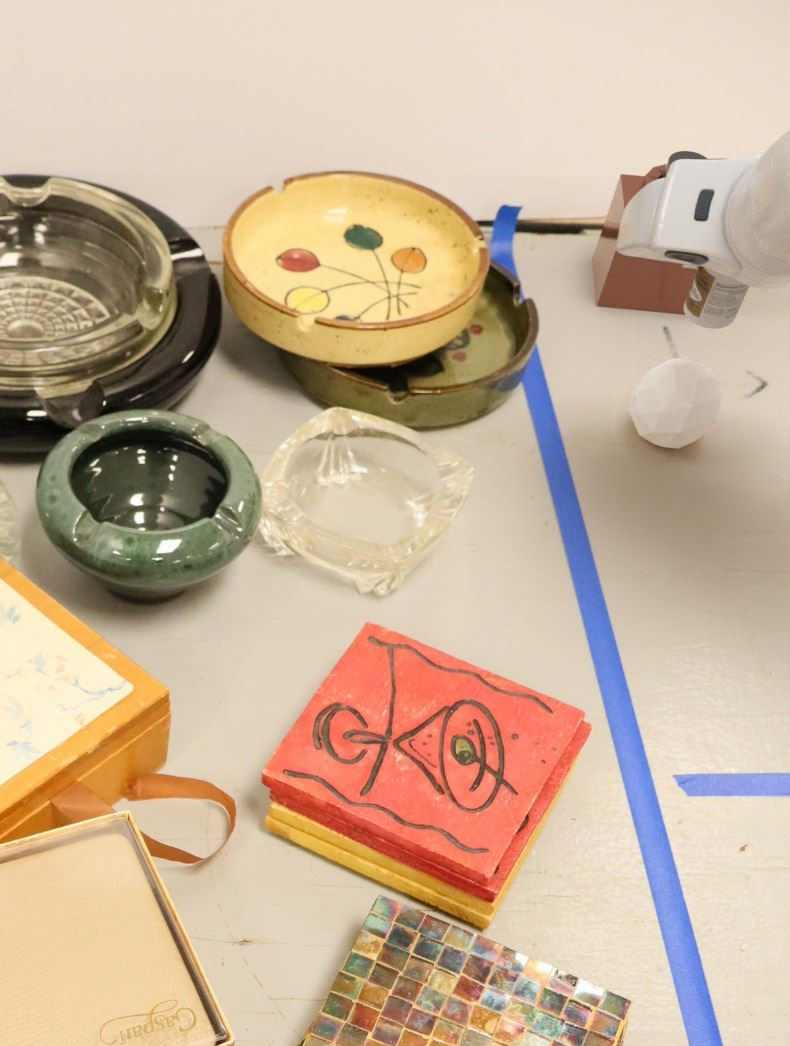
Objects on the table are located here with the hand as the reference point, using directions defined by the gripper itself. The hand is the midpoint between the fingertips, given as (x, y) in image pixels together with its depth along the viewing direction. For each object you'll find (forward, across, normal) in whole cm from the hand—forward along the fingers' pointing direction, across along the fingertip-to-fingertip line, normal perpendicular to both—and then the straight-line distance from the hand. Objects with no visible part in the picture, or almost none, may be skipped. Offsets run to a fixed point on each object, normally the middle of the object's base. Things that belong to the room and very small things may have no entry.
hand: (727, 263), depth 119 cm
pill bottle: (+3, 0, +4) cm, 5 cm away
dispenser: (+28, +2, -4) cm, 28 cm away
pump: (+21, +2, -11) cm, 24 cm away
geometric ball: (+12, -1, +13) cm, 18 cm away
